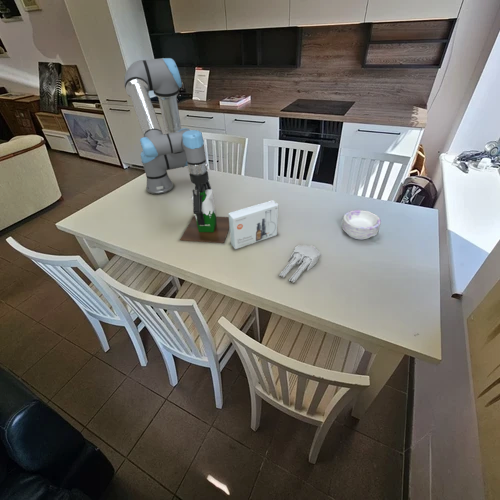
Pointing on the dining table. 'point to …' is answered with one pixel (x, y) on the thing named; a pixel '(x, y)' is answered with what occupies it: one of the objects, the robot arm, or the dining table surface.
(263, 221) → the skincare box
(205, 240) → the walnut board
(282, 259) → the dining table surface
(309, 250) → the turret
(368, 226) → the paper bowls
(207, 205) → the soya milk
